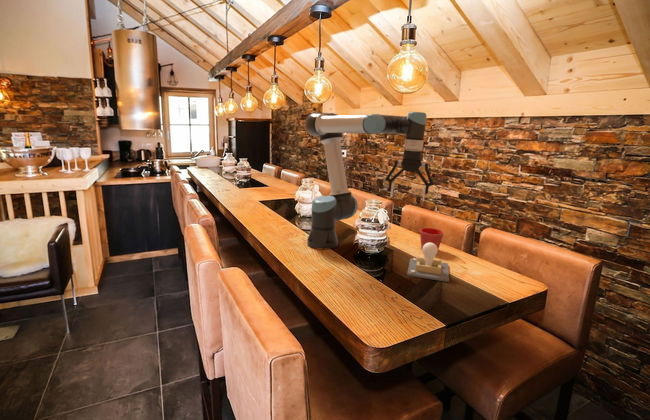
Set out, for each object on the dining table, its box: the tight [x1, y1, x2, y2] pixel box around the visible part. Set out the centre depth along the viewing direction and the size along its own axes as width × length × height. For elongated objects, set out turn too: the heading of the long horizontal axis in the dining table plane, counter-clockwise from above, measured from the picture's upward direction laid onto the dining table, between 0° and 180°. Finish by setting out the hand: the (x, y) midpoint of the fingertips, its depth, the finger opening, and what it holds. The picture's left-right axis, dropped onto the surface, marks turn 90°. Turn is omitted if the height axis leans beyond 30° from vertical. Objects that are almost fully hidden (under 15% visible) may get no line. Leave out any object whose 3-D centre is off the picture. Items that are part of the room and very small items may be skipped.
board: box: [406, 256, 450, 283], centre depth 149 cm, size 16×18×4 cm
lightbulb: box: [421, 242, 439, 266], centre depth 148 cm, size 6×6×11 cm
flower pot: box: [419, 227, 444, 250], centre depth 173 cm, size 11×11×10 cm
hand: (407, 199), depth 155 cm, fingers open, 13 cm apart
